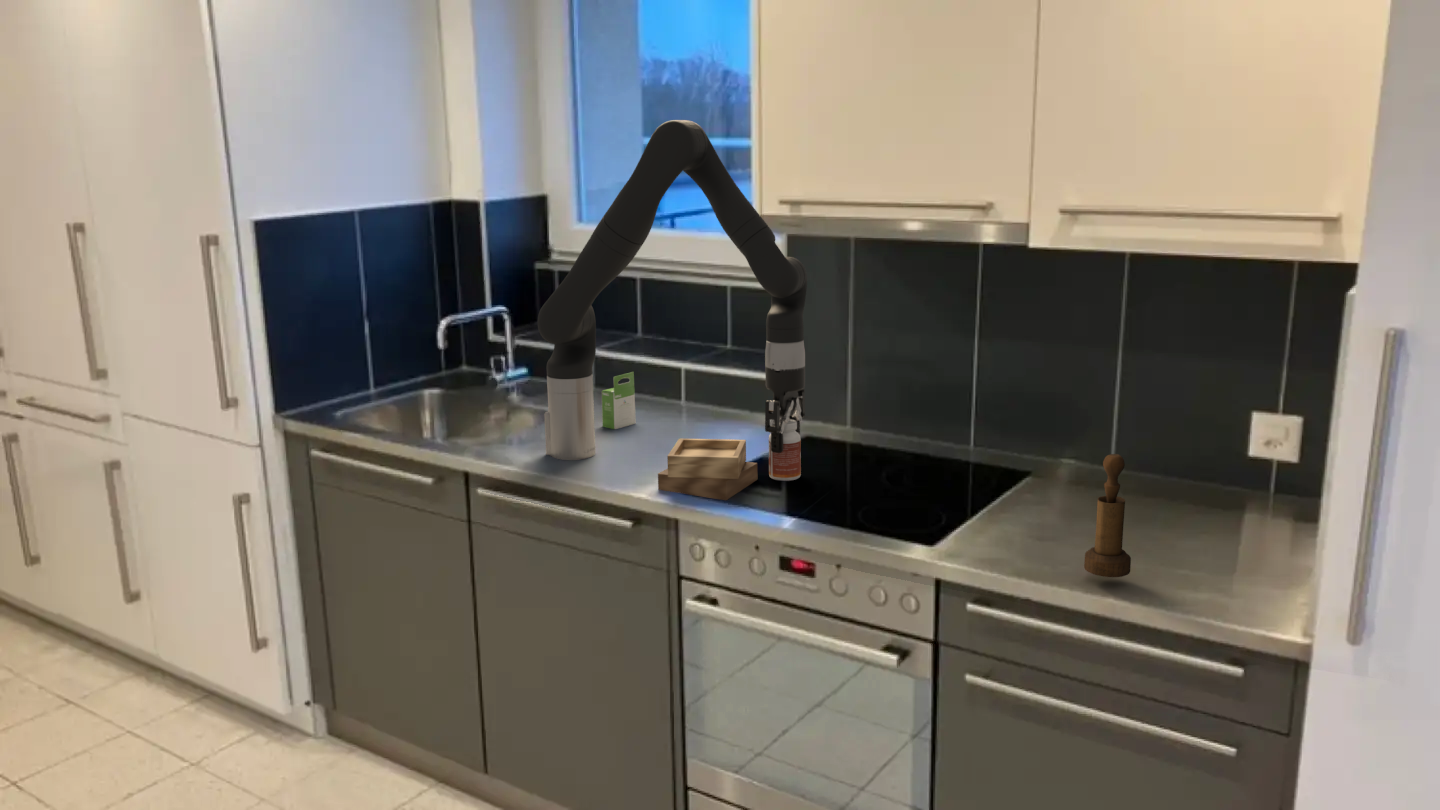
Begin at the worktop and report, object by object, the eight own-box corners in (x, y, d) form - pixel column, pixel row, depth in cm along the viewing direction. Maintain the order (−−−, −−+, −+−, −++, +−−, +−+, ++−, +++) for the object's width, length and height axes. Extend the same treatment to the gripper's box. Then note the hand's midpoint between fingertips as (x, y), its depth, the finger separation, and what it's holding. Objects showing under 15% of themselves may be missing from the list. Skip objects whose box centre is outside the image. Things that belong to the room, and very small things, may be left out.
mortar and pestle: (1082, 574, 179) (1089, 458, 175) (1085, 560, 184) (1092, 447, 180) (1129, 579, 176) (1137, 462, 172) (1131, 565, 182) (1138, 451, 178)
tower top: (667, 477, 220) (667, 456, 219) (679, 458, 232) (679, 438, 231) (738, 478, 218) (737, 457, 217) (746, 459, 231) (745, 439, 230)
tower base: (658, 494, 223) (657, 473, 222) (692, 475, 235) (692, 455, 234) (726, 503, 217) (725, 482, 216) (757, 483, 229) (757, 463, 228)
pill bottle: (807, 478, 230) (807, 422, 228) (781, 483, 227) (781, 426, 224) (788, 471, 235) (788, 416, 233) (762, 476, 232) (762, 420, 229)
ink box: (623, 427, 272) (622, 369, 269) (636, 430, 269) (634, 371, 266) (602, 433, 267) (600, 374, 264) (615, 436, 264) (613, 376, 261)
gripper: (781, 356, 234) (782, 436, 237) (751, 369, 221) (752, 454, 225) (817, 358, 231) (817, 440, 234) (789, 372, 218) (789, 457, 222)
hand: (785, 446), depth 230 cm, fingers open, 8 cm apart
